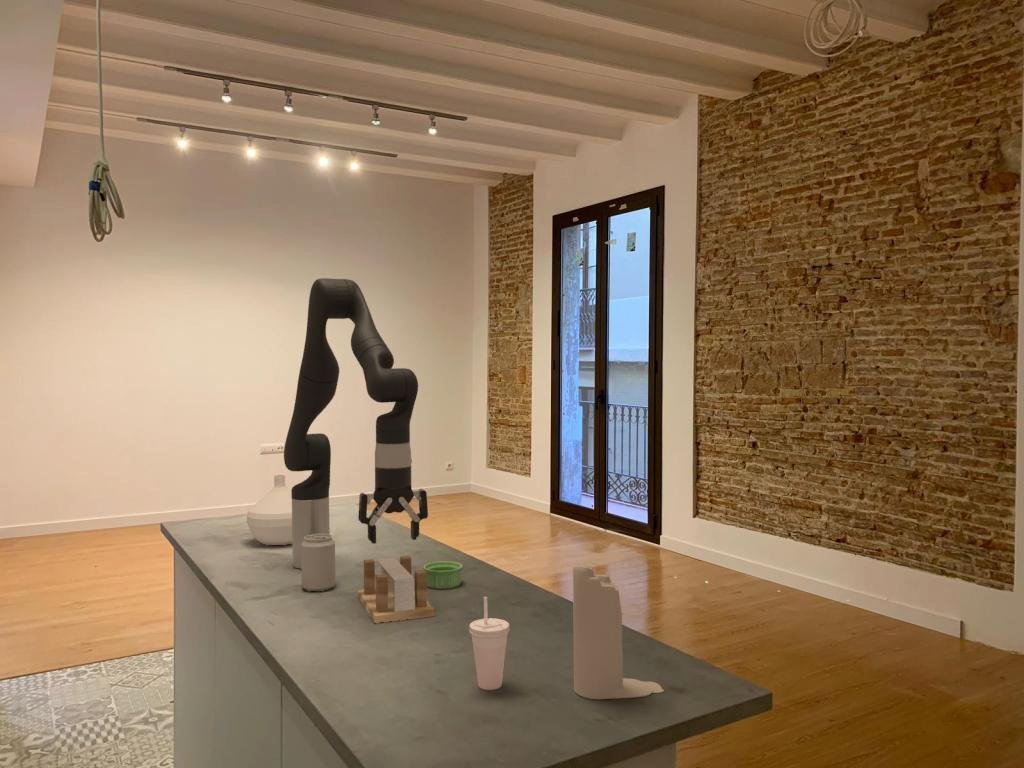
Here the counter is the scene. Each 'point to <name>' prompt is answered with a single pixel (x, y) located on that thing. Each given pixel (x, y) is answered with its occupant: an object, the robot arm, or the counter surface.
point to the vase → (273, 515)
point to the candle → (600, 640)
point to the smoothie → (489, 649)
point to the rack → (378, 597)
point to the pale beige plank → (397, 584)
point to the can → (318, 562)
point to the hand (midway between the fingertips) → (393, 540)
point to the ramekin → (443, 574)
